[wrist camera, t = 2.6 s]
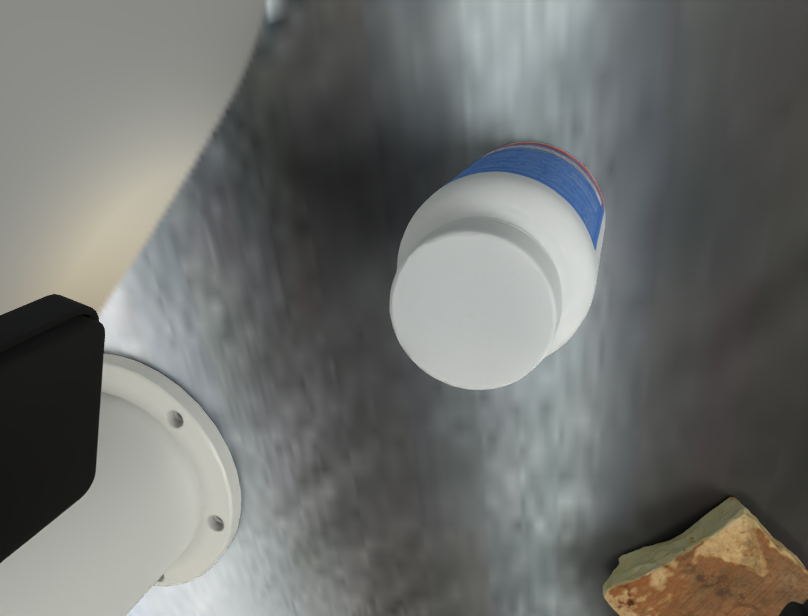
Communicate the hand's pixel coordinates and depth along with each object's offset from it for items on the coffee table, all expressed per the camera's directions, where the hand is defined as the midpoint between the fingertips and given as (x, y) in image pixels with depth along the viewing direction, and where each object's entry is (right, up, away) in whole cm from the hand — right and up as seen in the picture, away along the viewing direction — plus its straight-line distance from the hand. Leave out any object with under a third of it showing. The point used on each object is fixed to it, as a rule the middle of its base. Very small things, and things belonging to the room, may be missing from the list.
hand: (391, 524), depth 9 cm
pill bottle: (+5, +6, +16) cm, 18 cm away
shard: (+14, -8, +18) cm, 24 cm away
